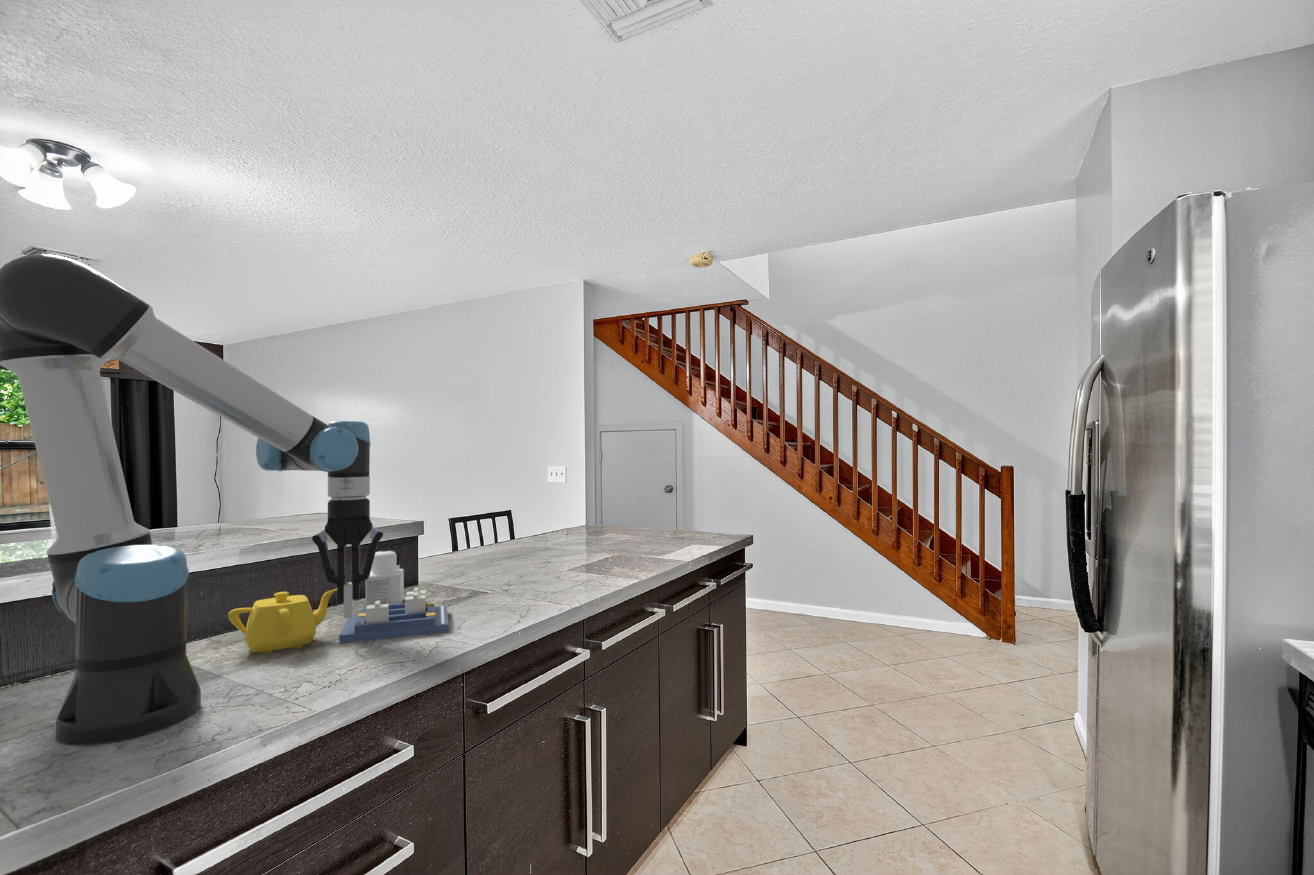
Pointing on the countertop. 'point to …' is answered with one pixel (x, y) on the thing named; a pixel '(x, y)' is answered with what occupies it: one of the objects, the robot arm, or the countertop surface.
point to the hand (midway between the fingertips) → (348, 616)
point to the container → (385, 579)
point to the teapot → (280, 622)
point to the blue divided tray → (396, 623)
